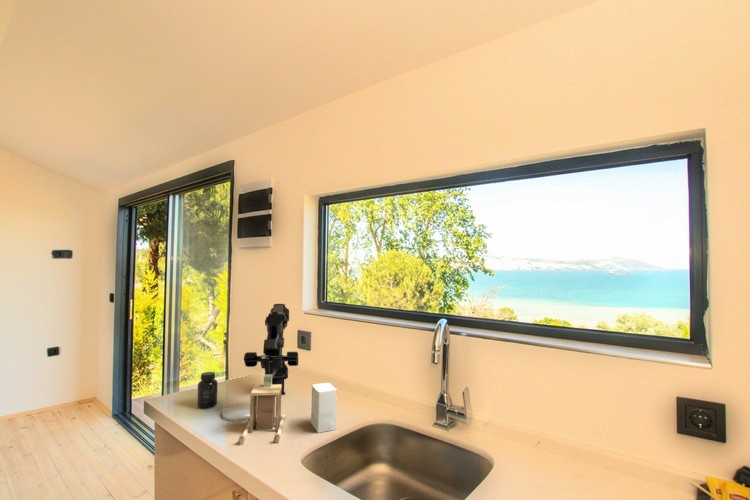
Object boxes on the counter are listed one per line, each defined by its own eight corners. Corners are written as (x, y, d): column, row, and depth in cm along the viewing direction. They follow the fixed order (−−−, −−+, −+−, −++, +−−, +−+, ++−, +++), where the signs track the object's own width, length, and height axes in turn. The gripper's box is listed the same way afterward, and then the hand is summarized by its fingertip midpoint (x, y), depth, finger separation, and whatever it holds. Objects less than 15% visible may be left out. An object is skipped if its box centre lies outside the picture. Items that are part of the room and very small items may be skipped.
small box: (336, 429, 120) (337, 389, 120) (317, 433, 117) (318, 392, 118) (328, 420, 127) (329, 382, 128) (310, 423, 125) (311, 384, 125)
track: (251, 419, 127) (251, 412, 127) (285, 417, 128) (285, 411, 128) (239, 444, 109) (239, 436, 109) (278, 443, 111) (278, 434, 111)
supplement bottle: (220, 402, 141) (221, 371, 141) (210, 409, 134) (212, 376, 135) (203, 401, 142) (204, 370, 142) (193, 408, 135) (194, 375, 135)
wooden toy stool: (254, 421, 125) (255, 374, 125) (280, 420, 126) (281, 373, 127) (249, 431, 117) (250, 382, 117) (277, 430, 118) (279, 381, 119)
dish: (252, 405, 139) (252, 401, 139) (261, 416, 129) (261, 412, 129) (219, 411, 133) (219, 408, 133) (225, 423, 123) (225, 420, 123)
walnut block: (259, 423, 124) (260, 390, 124) (274, 422, 124) (275, 389, 125) (256, 430, 119) (257, 395, 119) (272, 429, 120) (273, 395, 120)
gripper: (245, 329, 132) (237, 369, 120) (298, 329, 134) (295, 368, 123) (249, 346, 139) (242, 386, 128) (299, 346, 142) (296, 384, 130)
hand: (268, 381), depth 127 cm, fingers closed
